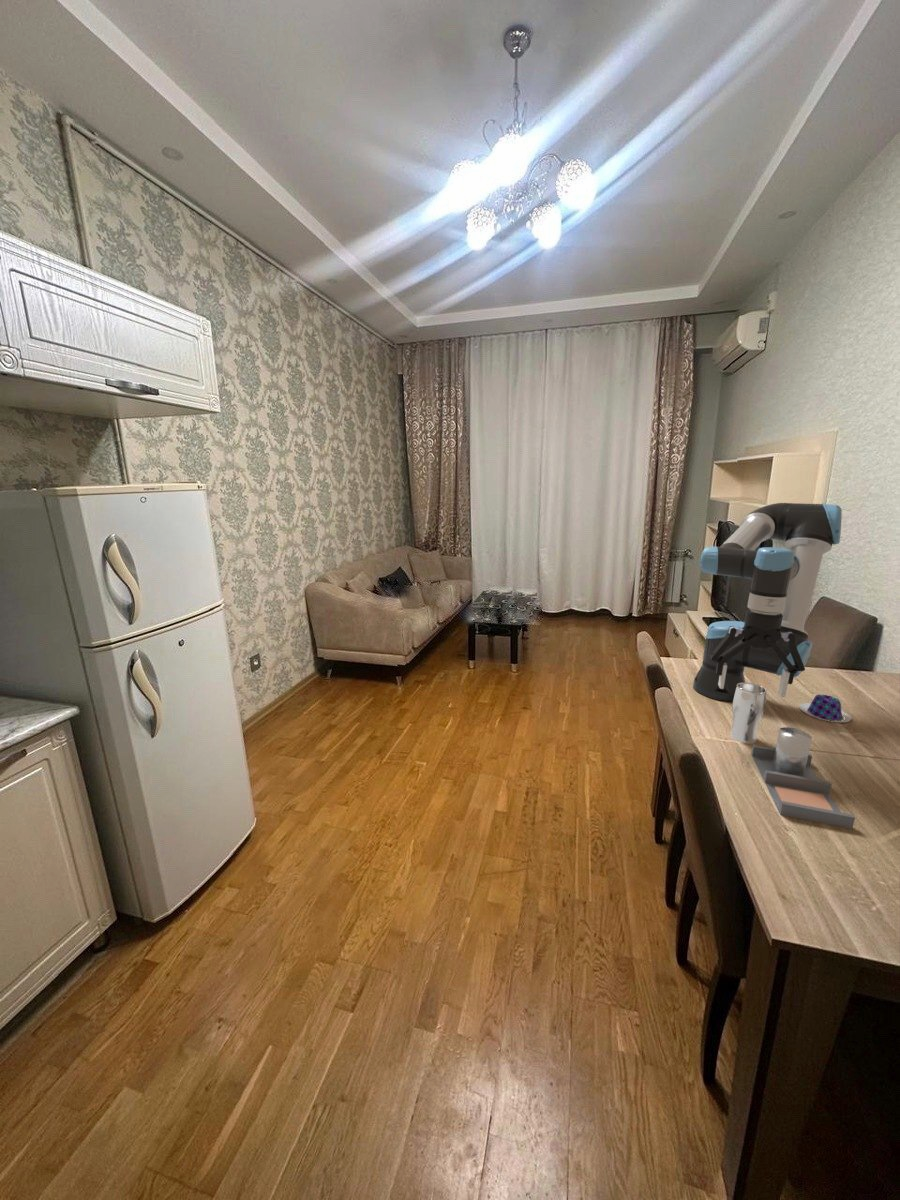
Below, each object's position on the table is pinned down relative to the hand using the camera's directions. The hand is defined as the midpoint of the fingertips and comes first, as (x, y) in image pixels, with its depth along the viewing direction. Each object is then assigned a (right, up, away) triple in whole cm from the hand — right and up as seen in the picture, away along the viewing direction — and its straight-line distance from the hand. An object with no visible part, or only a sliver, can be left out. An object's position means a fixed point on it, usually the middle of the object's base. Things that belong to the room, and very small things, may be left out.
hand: (750, 690), depth 120 cm
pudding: (+33, -11, +18) cm, 39 cm away
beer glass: (0, -14, +4) cm, 14 cm away
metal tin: (+1, -17, -11) cm, 20 cm away
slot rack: (-1, -19, -16) cm, 25 cm away
